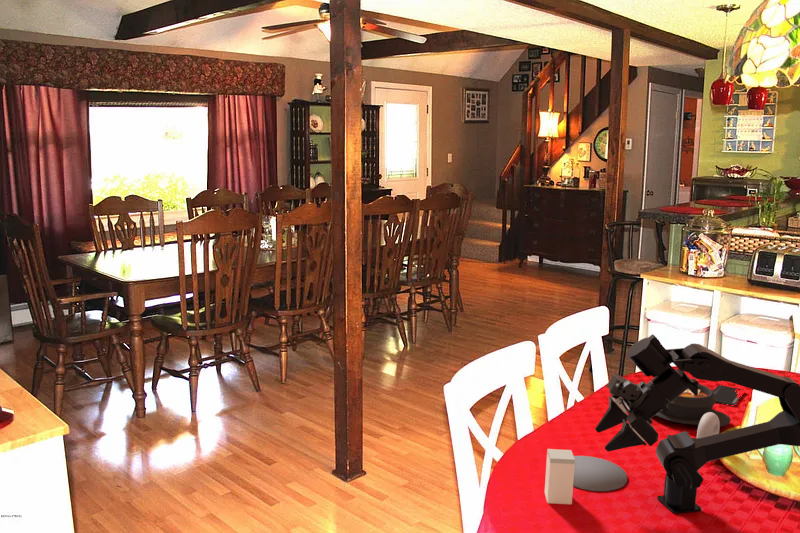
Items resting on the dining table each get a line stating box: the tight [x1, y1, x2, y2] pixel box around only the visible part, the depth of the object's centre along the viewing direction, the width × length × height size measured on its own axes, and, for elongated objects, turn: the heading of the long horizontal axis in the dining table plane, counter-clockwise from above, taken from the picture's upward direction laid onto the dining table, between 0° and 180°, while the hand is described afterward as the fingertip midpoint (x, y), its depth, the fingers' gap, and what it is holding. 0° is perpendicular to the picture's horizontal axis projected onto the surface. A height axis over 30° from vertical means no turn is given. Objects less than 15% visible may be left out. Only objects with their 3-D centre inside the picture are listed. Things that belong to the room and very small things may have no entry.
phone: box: [712, 384, 742, 405], centre depth 213 cm, size 8×1×15 cm
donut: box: [696, 412, 721, 438], centre depth 174 cm, size 10×3×10 cm, turn 141°
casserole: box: [655, 383, 732, 428], centre depth 196 cm, size 25×19×8 cm
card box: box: [544, 448, 575, 505], centre depth 150 cm, size 5×4×10 cm
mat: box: [573, 455, 628, 492], centre depth 162 cm, size 16×16×1 cm
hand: (601, 440), depth 148 cm, fingers open, 9 cm apart
